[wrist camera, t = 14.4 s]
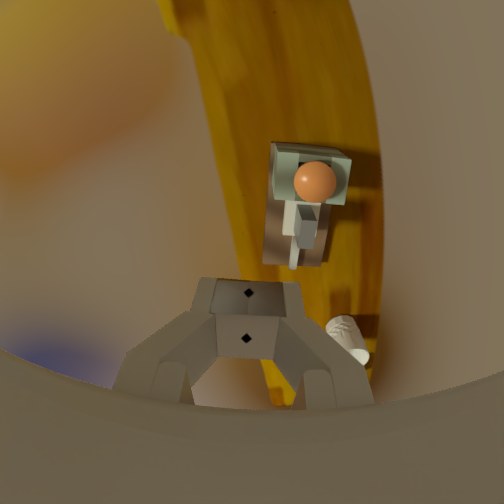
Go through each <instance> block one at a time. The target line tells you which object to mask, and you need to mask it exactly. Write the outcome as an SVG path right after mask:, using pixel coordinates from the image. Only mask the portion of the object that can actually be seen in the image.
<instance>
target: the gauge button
mask: <svg viewBox="0 0 504 504" xmlns="http://www.w3.org/2000/svg"><path fill="white" fill-rule="evenodd" d="M294 187H295V190H296V192H297V194H298V195H299V196H300V197H301V198H302V199H303V200H305V201H307V202H310V203H319V202H323V201H325V200H327V199H328V198H329V197H330V196H331V195H332V194H333V193H334V191H335V188H336V176H335V174H334V172H333V170H332V169H331V168H330V167H329V166H328V165H327V164H325V163H323V162H321V161H308V162H299V166H298V169H297V171H296V173H295V175H294Z"/></svg>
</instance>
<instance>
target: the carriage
mask: <svg viewBox="0 0 504 504" xmlns="http://www.w3.org/2000/svg"><path fill="white" fill-rule="evenodd" d="M320 207H321V203H310V202H303V201H290V200H285V208H284V218H283V228H282V234H283V235H291V236H295V238H296V242H297V247H298V248H300V249H313V246H314V240H315V237H316V232H317V226H318V220H319V213H320Z"/></svg>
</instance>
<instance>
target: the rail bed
mask: <svg viewBox="0 0 504 504" xmlns="http://www.w3.org/2000/svg"><path fill="white" fill-rule="evenodd" d="M308 161H321V162H323V163H325V164H327V165H328V166H329V167H330V168H331V169H332V170H333V172H334V174H335V176H336V188H335V191H334V193H333V194H332V195H331V196H330V197H329V198H328V199H327V200H325V201H323V202H319V203H321V207H320V213H319V220H318V226H317V232H316V237H315V240H314V246H313V249H300V248H298V247H297V242H296V238H295V236H291V235H283V234H282V228H283V218H284V208H285V200H290V201H303V202H307V201H305V200H303V199H302V198H301V197H300V196H299V195H298V194H297V192H296V190H295V187H294V175H295V173H296V171H297V169H298V166H299V162H308ZM351 161H352V160H351V159H350V158H348V157H347V156H345V155H344V154H343V153H341V152H340V150H339V149H338V148H331V147H323V146H315V145H306V144H295V143H284V142H271V148H270V163H269V177H268V192H267V205H266V219H265V233H264V246H263V259H262V261H263V264H275V265H289V269H296V268H297V266H317V267H321V262H322V257H323V252H324V247H325V242H326V237H327V231H328V226H329V220H330V215H331V209H332V204H337V205H344V204H345V198H346V192H347V187H348V180H349V174H350V168H351Z"/></svg>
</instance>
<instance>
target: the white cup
mask: <svg viewBox="0 0 504 504" xmlns="http://www.w3.org/2000/svg"><path fill="white" fill-rule="evenodd" d="M326 333H328V334H329V335H330V336H331V337H332V338H333V339H334V340H335V341H336V342H338V343H339V344H340V345H341V346H342V347H343V348H344V349H345V350H347V351H348V352H349V353H350V354H351V355H352V356H353V357H354V358H356V359H357V360H358V361H359V362H360V363H361V364H362V365H363V366H364V365H365V364H366V363H367V362H368V360H369V352H368V350H367V347H366V345H365V342H364V339H363V337H362V335H361V333H360V330H359V328H358V327H357V324H356V322H355V320H354V318H353V317H351V316H348V315H340V316H337V317H334V318H333V319H331V320H330V321H329V322H328V324H327V325H326Z"/></svg>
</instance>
